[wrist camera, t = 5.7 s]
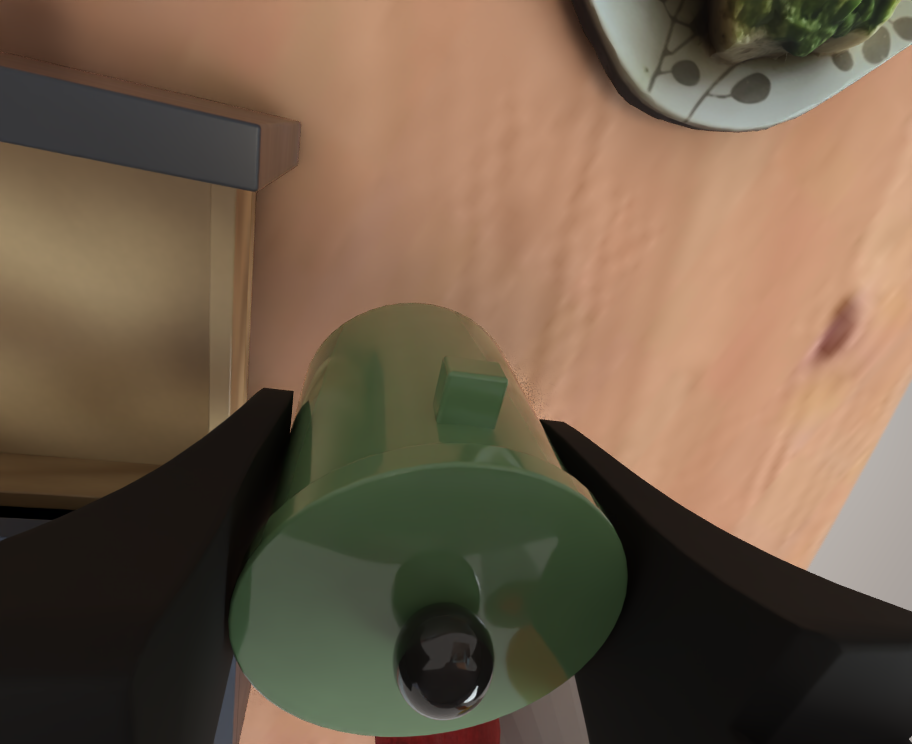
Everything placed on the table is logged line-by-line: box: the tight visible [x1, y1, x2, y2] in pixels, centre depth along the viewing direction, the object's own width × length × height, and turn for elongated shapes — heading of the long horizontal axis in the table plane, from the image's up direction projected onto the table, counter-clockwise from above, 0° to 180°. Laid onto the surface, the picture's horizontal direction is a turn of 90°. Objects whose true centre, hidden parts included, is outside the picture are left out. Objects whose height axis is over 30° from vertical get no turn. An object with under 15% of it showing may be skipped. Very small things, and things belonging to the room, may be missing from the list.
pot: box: [228, 303, 628, 737], centre depth 10 cm, size 6×7×8 cm
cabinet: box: [0, 506, 251, 744], centre depth 17 cm, size 12×13×6 cm
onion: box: [375, 718, 501, 744], centre depth 23 cm, size 6×6×8 cm
